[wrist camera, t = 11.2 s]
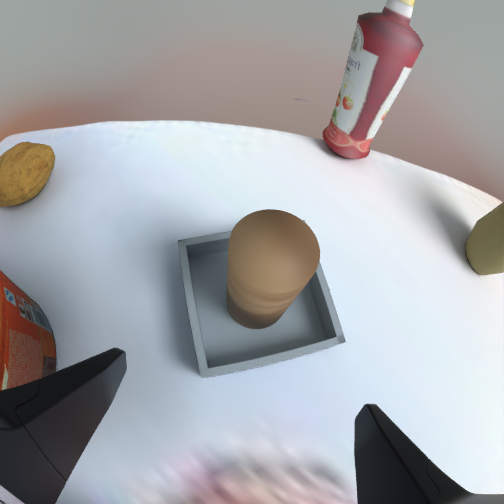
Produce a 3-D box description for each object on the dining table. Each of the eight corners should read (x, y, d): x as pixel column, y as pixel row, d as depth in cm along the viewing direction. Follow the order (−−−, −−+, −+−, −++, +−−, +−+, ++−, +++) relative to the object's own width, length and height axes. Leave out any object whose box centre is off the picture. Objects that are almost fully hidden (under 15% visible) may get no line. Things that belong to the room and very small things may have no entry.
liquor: (371, 172, 33) (461, -13, 8) (319, 159, 32) (389, -51, 8) (363, 138, 36) (429, -23, 11) (317, 126, 36) (368, -50, 11)
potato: (21, 165, 29) (3, 135, 23) (75, 163, 30) (57, 126, 23) (-7, 214, 25) (-31, 186, 19) (44, 221, 25) (16, 186, 19)
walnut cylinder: (250, 341, 21) (267, 311, 13) (215, 293, 23) (210, 236, 15) (296, 306, 23) (337, 258, 15) (261, 263, 25) (280, 196, 16)
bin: (204, 378, 20) (201, 377, 18) (182, 255, 25) (178, 240, 22) (332, 346, 22) (345, 341, 20) (296, 236, 27) (304, 220, 24)
